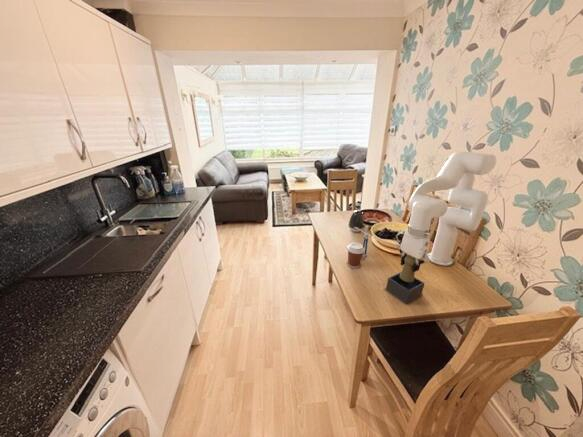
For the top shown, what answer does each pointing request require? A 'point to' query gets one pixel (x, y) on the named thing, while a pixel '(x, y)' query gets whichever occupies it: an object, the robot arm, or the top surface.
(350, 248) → the coffee cup
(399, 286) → the bin
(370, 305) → the top surface
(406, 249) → the robot arm
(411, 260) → the olive flared cylinder
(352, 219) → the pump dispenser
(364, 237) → the alien figure
